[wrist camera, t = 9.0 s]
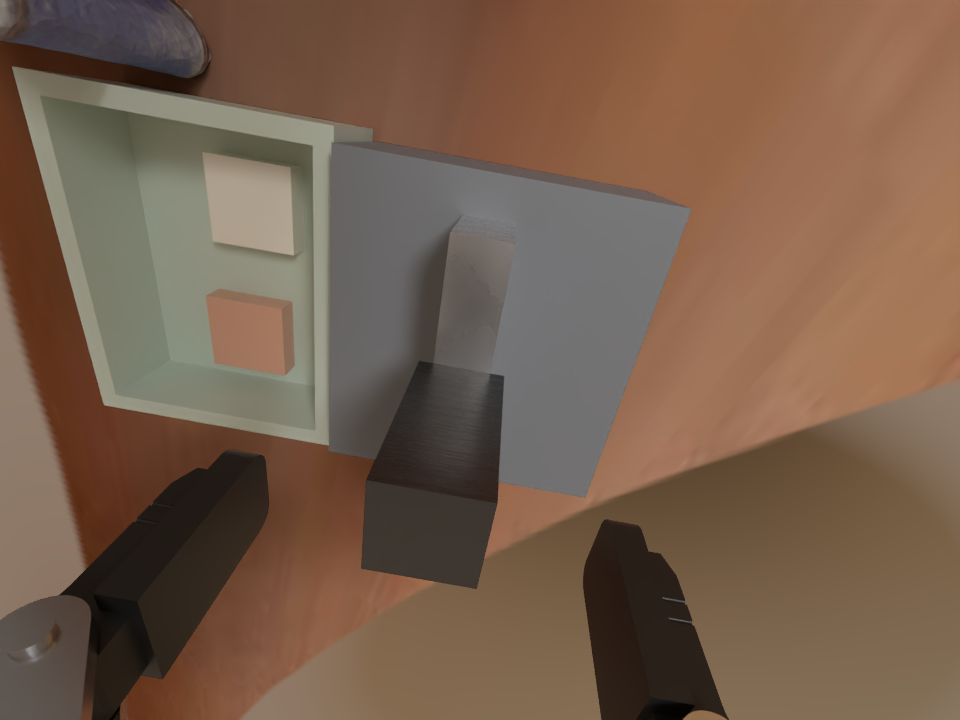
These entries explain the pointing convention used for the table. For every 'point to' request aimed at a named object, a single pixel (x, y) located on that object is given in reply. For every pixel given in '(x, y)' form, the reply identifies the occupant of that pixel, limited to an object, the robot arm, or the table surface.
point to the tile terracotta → (251, 331)
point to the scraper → (446, 427)
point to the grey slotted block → (527, 306)
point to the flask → (111, 32)
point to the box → (182, 246)
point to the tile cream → (255, 202)
